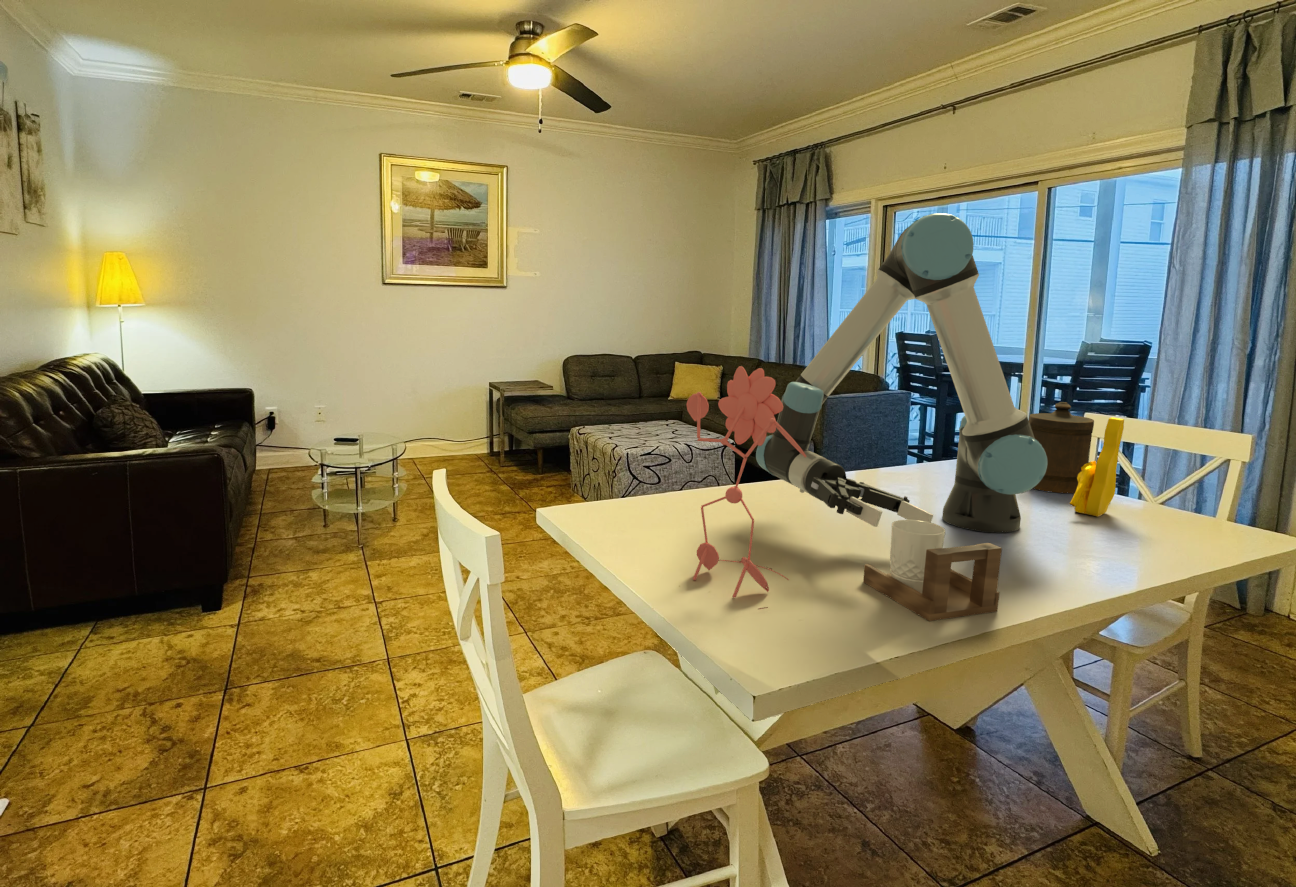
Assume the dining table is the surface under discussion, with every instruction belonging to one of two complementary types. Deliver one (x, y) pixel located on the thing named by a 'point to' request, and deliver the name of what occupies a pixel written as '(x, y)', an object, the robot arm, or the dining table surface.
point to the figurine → (746, 416)
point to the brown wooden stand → (947, 583)
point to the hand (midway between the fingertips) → (905, 520)
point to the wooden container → (1062, 447)
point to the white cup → (912, 550)
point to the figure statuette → (1100, 474)
